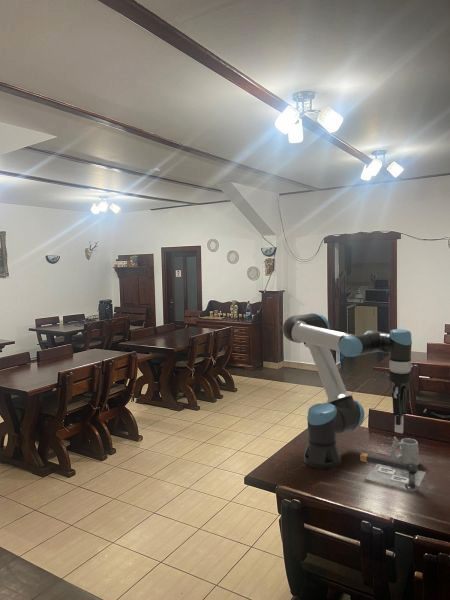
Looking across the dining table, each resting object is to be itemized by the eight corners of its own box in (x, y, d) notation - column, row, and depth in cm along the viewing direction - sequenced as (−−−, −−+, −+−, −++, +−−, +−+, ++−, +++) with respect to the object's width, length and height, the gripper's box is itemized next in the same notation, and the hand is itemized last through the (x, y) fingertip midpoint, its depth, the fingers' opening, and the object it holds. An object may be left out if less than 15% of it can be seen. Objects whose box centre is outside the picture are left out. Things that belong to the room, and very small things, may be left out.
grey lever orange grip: (418, 470, 164) (418, 464, 164) (416, 474, 161) (416, 468, 161) (363, 457, 176) (362, 452, 176) (359, 461, 173) (359, 455, 173)
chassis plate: (366, 480, 172) (366, 478, 172) (378, 463, 186) (378, 461, 186) (416, 493, 162) (416, 491, 162) (425, 474, 176) (425, 472, 176)
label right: (390, 480, 170) (390, 478, 170) (393, 475, 173) (393, 474, 173) (407, 484, 167) (407, 482, 167) (409, 479, 170) (409, 478, 170)
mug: (423, 468, 181) (423, 439, 180) (394, 470, 180) (394, 441, 179) (413, 460, 188) (413, 431, 187) (386, 461, 187) (386, 433, 186)
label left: (377, 471, 177) (377, 470, 177) (380, 467, 181) (380, 466, 180) (393, 475, 174) (393, 474, 174) (395, 471, 177) (395, 469, 177)
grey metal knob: (403, 490, 164) (403, 473, 163) (406, 484, 168) (406, 467, 167) (417, 494, 161) (417, 476, 161) (420, 488, 165) (420, 470, 165)
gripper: (406, 376, 162) (404, 440, 164) (414, 368, 172) (413, 428, 175) (384, 373, 166) (383, 435, 168) (394, 366, 177) (393, 424, 179)
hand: (398, 431), depth 172 cm, fingers closed
